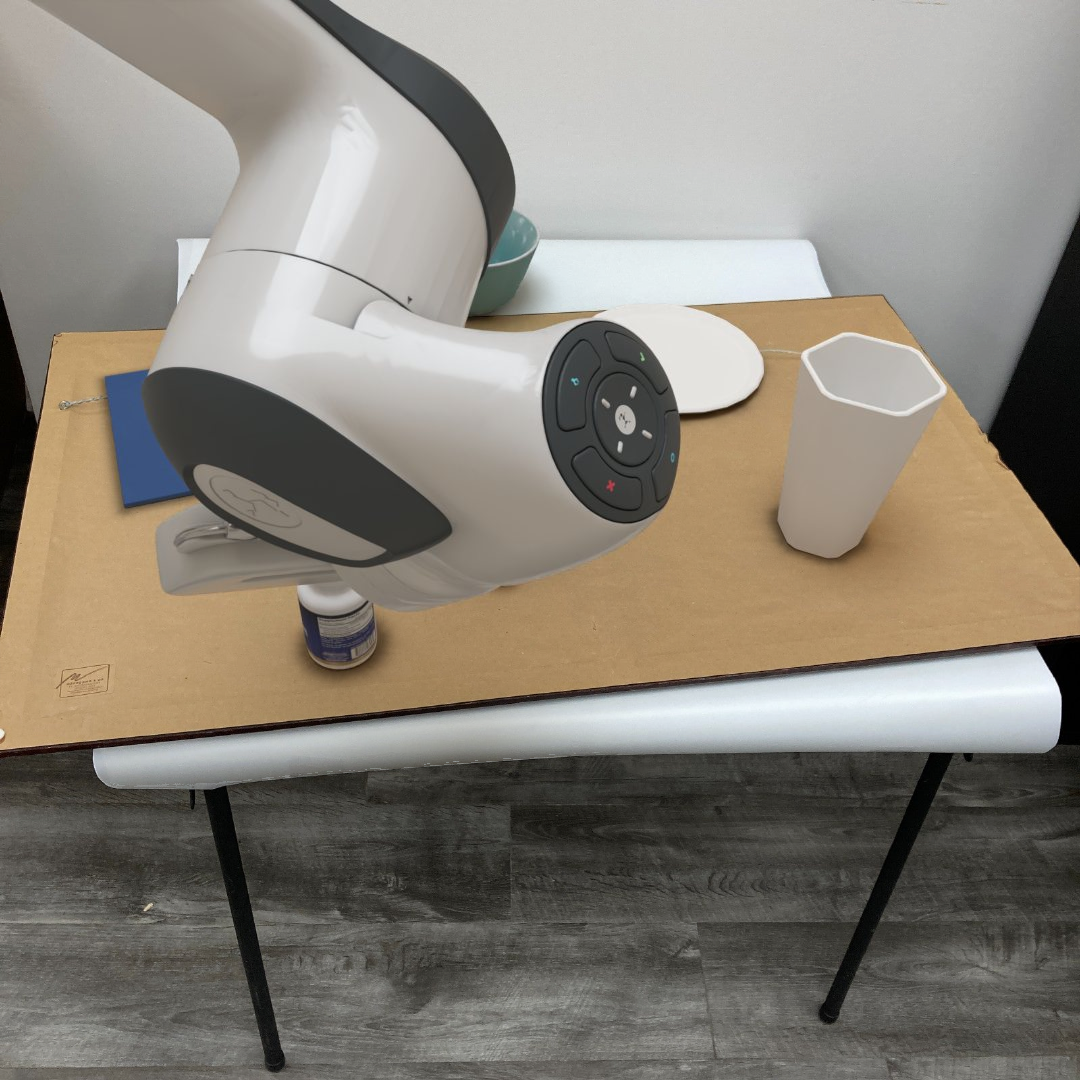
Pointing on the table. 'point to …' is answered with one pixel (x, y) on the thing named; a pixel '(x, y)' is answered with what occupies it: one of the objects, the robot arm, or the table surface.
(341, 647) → the pill bottle
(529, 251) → the bowl
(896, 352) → the cup
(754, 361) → the plate
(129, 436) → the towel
